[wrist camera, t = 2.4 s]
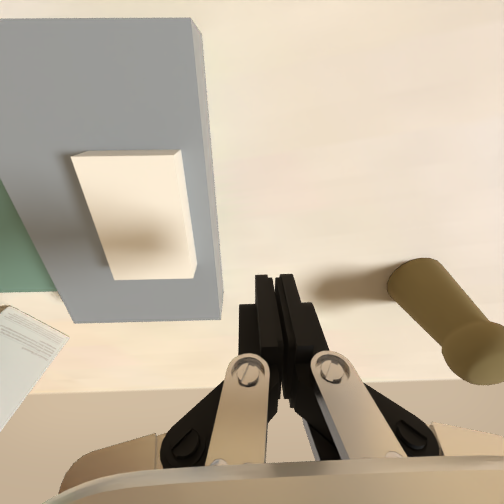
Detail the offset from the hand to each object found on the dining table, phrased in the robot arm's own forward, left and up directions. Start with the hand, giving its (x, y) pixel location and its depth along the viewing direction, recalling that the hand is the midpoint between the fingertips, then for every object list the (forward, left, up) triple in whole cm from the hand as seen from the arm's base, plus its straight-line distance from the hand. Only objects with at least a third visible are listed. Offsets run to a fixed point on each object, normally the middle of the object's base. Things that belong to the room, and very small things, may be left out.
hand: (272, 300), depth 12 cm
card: (-1, -8, -9) cm, 12 cm away
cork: (+9, +17, -13) cm, 24 cm away
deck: (-1, -11, -13) cm, 17 cm away
